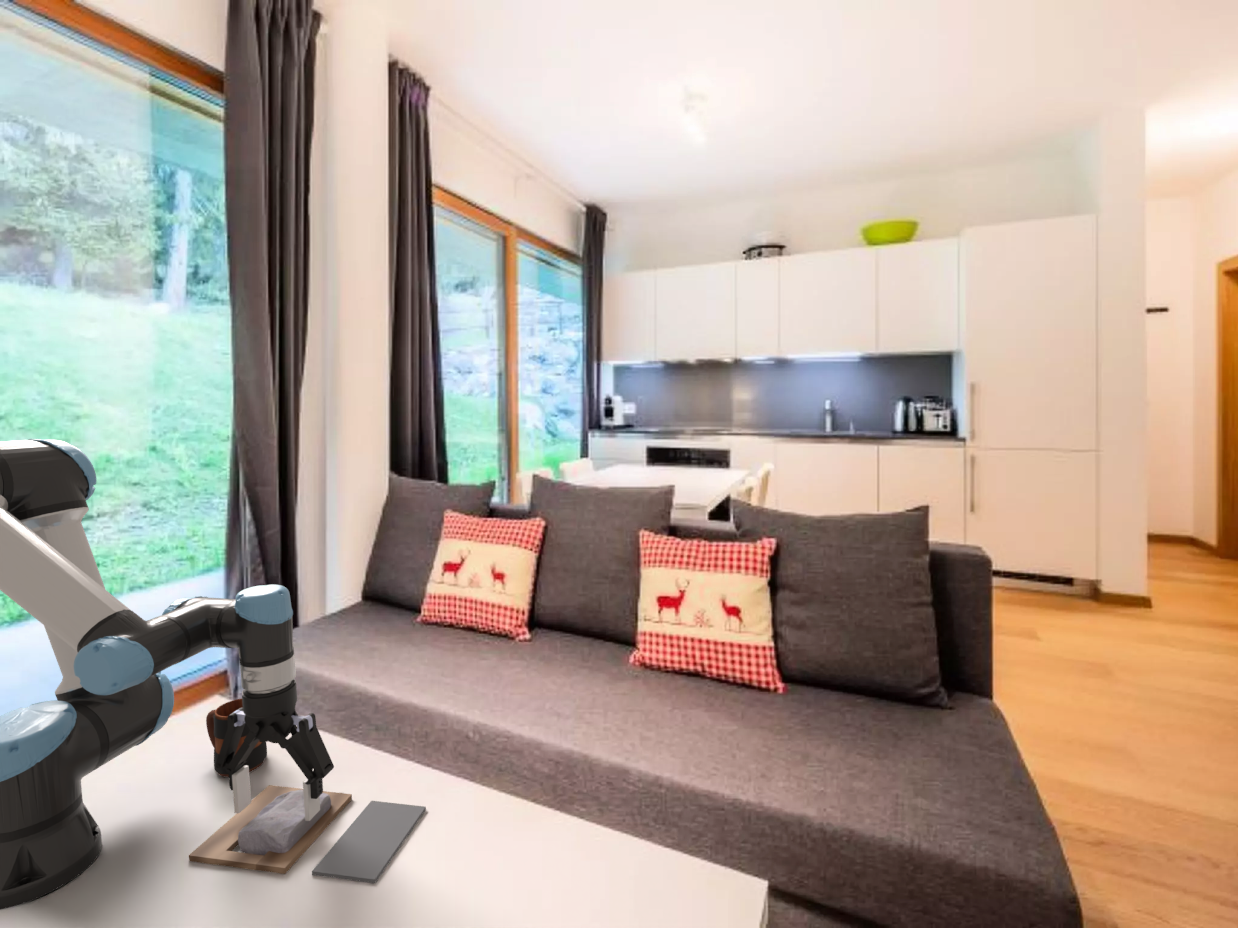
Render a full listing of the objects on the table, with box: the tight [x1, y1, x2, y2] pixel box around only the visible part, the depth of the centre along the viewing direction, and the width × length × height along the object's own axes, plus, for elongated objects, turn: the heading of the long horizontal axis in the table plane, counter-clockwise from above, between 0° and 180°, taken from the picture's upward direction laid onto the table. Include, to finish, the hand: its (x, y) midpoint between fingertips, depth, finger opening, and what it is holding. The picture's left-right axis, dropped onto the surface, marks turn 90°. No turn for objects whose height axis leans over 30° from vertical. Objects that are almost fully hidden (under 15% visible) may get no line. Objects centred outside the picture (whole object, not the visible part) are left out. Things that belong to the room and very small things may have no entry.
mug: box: [205, 698, 268, 778], centre depth 116 cm, size 9×12×12 cm
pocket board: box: [188, 784, 353, 875], centre depth 99 cm, size 16×17×1 cm
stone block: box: [238, 788, 331, 855], centre depth 98 cm, size 12×5×10 cm
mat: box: [311, 800, 427, 884], centre depth 96 cm, size 10×16×1 cm, turn 172°
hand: (277, 811), depth 98 cm, fingers open, 12 cm apart
